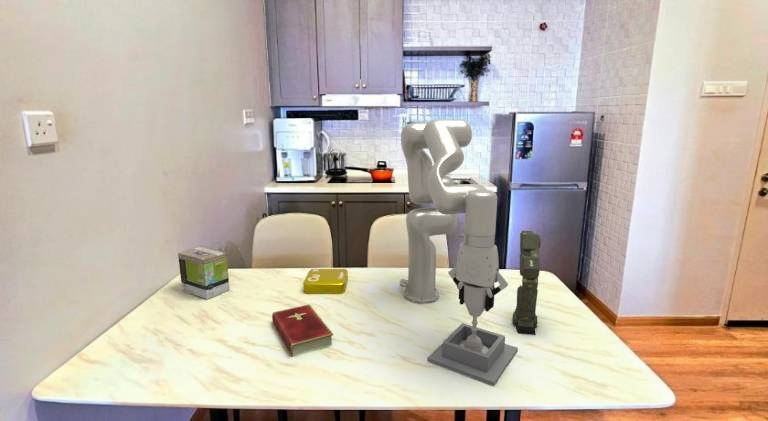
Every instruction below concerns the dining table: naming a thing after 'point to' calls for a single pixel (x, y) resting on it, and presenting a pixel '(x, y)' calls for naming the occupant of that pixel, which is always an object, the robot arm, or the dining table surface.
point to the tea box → (204, 272)
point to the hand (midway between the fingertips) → (475, 305)
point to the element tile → (326, 281)
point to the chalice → (474, 312)
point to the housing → (474, 355)
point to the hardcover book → (302, 329)
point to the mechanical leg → (527, 284)
